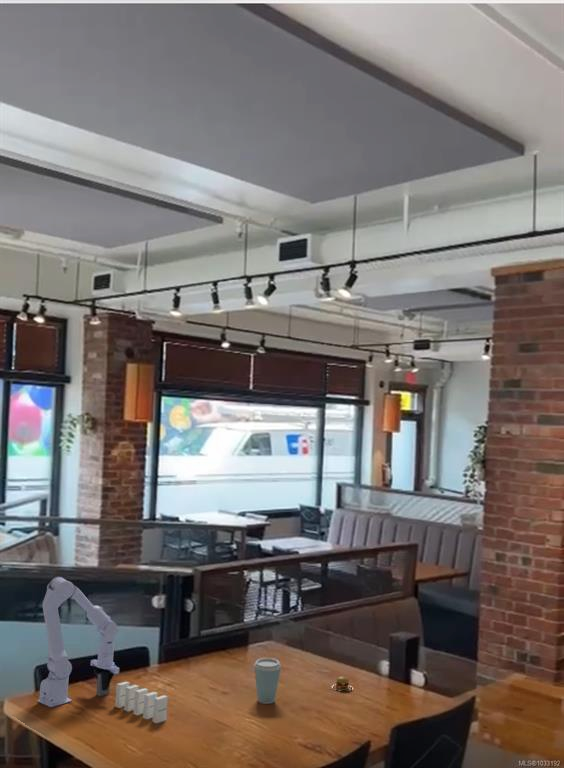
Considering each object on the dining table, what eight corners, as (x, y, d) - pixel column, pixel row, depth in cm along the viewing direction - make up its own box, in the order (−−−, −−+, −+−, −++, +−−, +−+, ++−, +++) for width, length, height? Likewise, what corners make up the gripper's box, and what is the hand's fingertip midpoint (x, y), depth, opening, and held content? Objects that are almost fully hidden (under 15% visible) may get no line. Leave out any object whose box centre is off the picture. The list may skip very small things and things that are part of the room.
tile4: (137, 715, 269) (138, 692, 270) (133, 714, 270) (135, 690, 271) (146, 712, 272) (148, 689, 273) (143, 710, 274) (144, 688, 274)
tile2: (118, 708, 275) (120, 685, 276) (115, 706, 276) (116, 683, 277) (128, 705, 279) (130, 682, 279) (124, 703, 280) (126, 681, 281)
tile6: (156, 723, 263) (158, 699, 263) (152, 721, 264) (154, 698, 265) (166, 720, 266) (167, 696, 267) (162, 718, 268) (163, 695, 268)
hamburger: (357, 687, 317) (358, 673, 317) (356, 696, 305) (356, 682, 306) (328, 684, 319) (329, 670, 319) (326, 693, 307) (327, 679, 307)
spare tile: (99, 696, 286) (101, 674, 286) (96, 695, 287) (97, 673, 288) (109, 693, 289) (110, 672, 290) (105, 692, 291) (107, 671, 291)
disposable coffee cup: (276, 707, 285) (278, 666, 287) (248, 703, 288) (250, 663, 289) (281, 698, 296) (284, 658, 297) (254, 694, 298) (257, 655, 299)
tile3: (127, 711, 272) (129, 688, 273) (124, 710, 273) (125, 687, 274) (137, 708, 276) (139, 686, 276) (133, 707, 277) (135, 684, 277)
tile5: (146, 719, 266) (148, 695, 266) (142, 717, 267) (144, 694, 268) (156, 716, 269) (158, 693, 270) (152, 714, 271) (154, 691, 271)
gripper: (126, 654, 288) (123, 691, 287) (102, 646, 297) (99, 682, 296) (111, 658, 282) (109, 695, 281) (87, 649, 291) (84, 685, 290)
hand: (103, 688), depth 288 cm, fingers closed on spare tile, 2 cm apart
